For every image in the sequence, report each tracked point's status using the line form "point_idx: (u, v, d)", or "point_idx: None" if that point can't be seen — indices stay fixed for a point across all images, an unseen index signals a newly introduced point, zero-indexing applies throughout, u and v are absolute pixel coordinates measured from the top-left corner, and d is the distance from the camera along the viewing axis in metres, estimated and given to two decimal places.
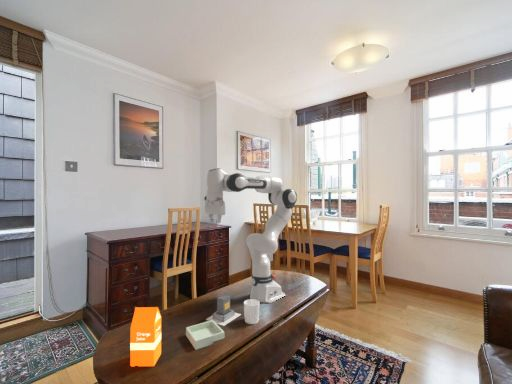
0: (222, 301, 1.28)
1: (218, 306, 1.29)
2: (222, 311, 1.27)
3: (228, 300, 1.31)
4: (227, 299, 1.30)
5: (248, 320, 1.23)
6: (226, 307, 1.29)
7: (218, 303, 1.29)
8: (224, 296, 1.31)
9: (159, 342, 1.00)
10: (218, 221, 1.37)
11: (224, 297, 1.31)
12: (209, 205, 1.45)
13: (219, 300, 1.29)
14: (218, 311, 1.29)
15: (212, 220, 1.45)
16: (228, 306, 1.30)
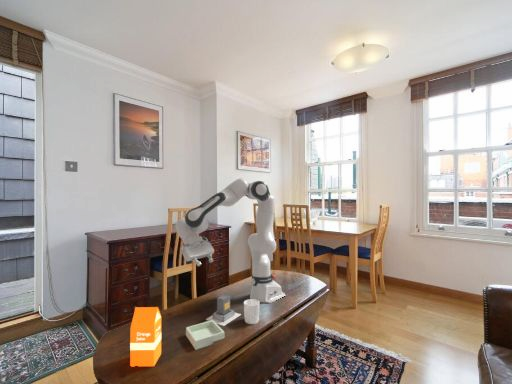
0: (222, 301, 1.28)
1: (218, 306, 1.29)
2: (222, 311, 1.27)
3: (228, 300, 1.31)
4: (227, 299, 1.30)
5: (248, 320, 1.23)
6: (226, 307, 1.29)
7: (218, 303, 1.29)
8: (224, 296, 1.31)
9: (159, 342, 1.00)
10: (197, 264, 1.33)
11: (224, 297, 1.31)
12: None
13: (219, 300, 1.29)
14: (218, 311, 1.29)
15: (210, 260, 1.41)
16: (228, 306, 1.30)
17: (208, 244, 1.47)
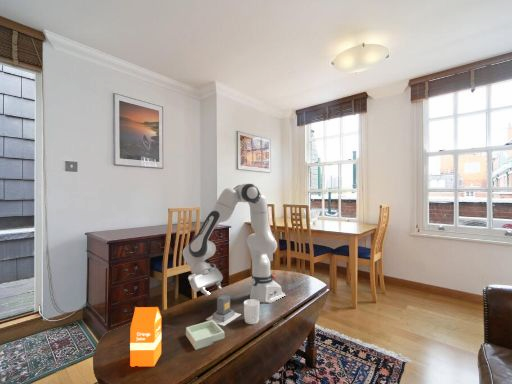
0: (222, 301, 1.28)
1: (218, 306, 1.29)
2: (222, 311, 1.27)
3: (228, 300, 1.31)
4: (227, 299, 1.30)
5: (248, 320, 1.23)
6: (226, 307, 1.29)
7: (218, 303, 1.29)
8: (224, 296, 1.31)
9: (159, 342, 1.00)
10: (206, 294, 1.30)
11: (224, 297, 1.31)
12: None
13: (219, 300, 1.29)
14: (218, 311, 1.29)
15: (219, 288, 1.38)
16: (228, 306, 1.30)
17: (216, 271, 1.44)
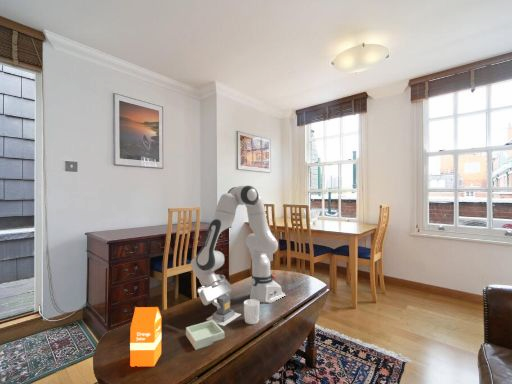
0: (222, 301, 1.28)
1: None
2: (222, 311, 1.27)
3: (228, 300, 1.31)
4: (227, 299, 1.30)
5: (248, 320, 1.23)
6: (226, 307, 1.29)
7: None
8: (224, 296, 1.31)
9: (159, 342, 1.00)
10: (217, 306, 1.27)
11: (224, 297, 1.31)
12: None
13: (219, 300, 1.29)
14: (218, 311, 1.29)
15: None
16: (228, 306, 1.30)
17: (226, 282, 1.40)
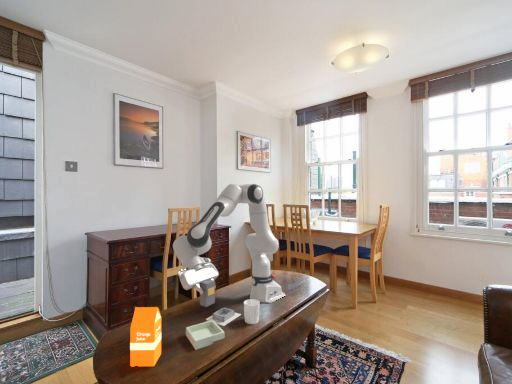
0: (205, 286, 1.13)
1: None
2: (205, 297, 1.13)
3: (213, 285, 1.16)
4: (211, 284, 1.16)
5: (248, 320, 1.23)
6: (210, 293, 1.15)
7: None
8: (208, 281, 1.17)
9: (159, 342, 1.00)
10: (200, 292, 1.13)
11: (208, 281, 1.16)
12: None
13: (202, 285, 1.14)
14: (200, 297, 1.15)
15: None
16: (212, 292, 1.16)
17: (211, 266, 1.26)
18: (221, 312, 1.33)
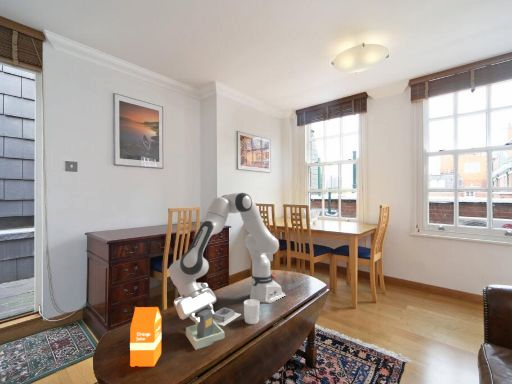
0: (203, 317, 1.10)
1: None
2: (202, 329, 1.10)
3: (210, 316, 1.13)
4: (209, 315, 1.13)
5: (248, 320, 1.23)
6: (207, 324, 1.12)
7: None
8: (206, 311, 1.14)
9: (159, 342, 1.00)
10: (196, 321, 1.09)
11: (206, 312, 1.13)
12: None
13: (199, 316, 1.11)
14: (198, 329, 1.12)
15: None
16: (210, 323, 1.13)
17: (208, 291, 1.23)
18: (221, 312, 1.33)
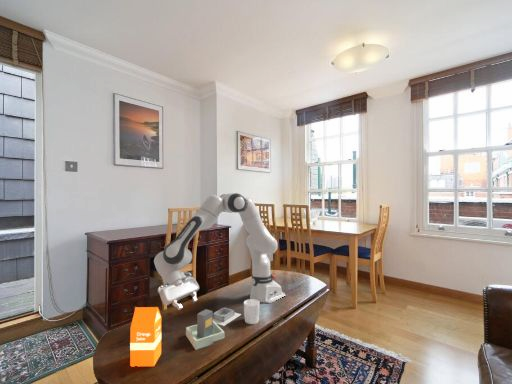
0: (203, 318, 1.10)
1: (198, 323, 1.12)
2: (202, 329, 1.10)
3: (210, 316, 1.13)
4: (209, 315, 1.13)
5: (248, 320, 1.23)
6: (207, 324, 1.12)
7: (198, 320, 1.12)
8: (206, 311, 1.14)
9: (159, 342, 1.00)
10: (178, 307, 1.17)
11: (206, 312, 1.13)
12: None
13: (199, 316, 1.11)
14: (198, 329, 1.12)
15: (194, 300, 1.24)
16: (210, 323, 1.13)
17: (192, 280, 1.30)
18: (221, 312, 1.33)
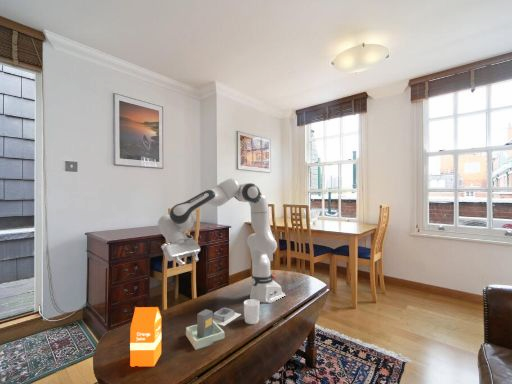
0: (203, 318, 1.10)
1: (198, 323, 1.12)
2: (202, 329, 1.10)
3: (210, 316, 1.13)
4: (209, 315, 1.13)
5: (248, 320, 1.23)
6: (207, 324, 1.12)
7: (198, 320, 1.12)
8: (206, 311, 1.14)
9: (159, 342, 1.00)
10: (180, 264, 1.23)
11: (206, 312, 1.13)
12: None
13: (199, 316, 1.11)
14: (198, 329, 1.12)
15: (195, 259, 1.31)
16: (210, 323, 1.13)
17: (193, 242, 1.37)
18: (221, 312, 1.33)
